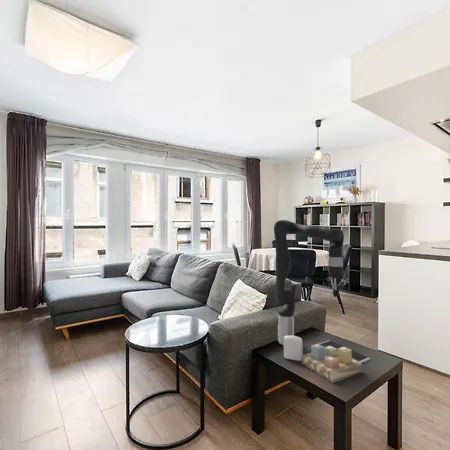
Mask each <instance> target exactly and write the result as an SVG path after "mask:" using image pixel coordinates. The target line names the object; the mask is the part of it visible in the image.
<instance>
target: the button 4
mask: <svg viewBox="0 0 450 450" xmlns="http://www.w3.org/2000/svg"><path fill="white" fill-rule="evenodd" d="M350 349H351V348H348V347H346V346H344V347H341V348H337V350H338V360H339V361H340V362H342V363H344V364H348V363H351V362H352V350H353V349H351V350H350Z"/></svg>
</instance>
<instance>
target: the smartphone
mask: <svg viewBox="0 0 450 450" xmlns="http://www.w3.org/2000/svg"><path fill="white" fill-rule="evenodd" d="M318 344H319V345H321V346H323V347H327V346H332V347H334V348H336V349H337V348H341V347H345V346H344V345H342V344H339V343H337V342H335V341H332V340H326V341H324V342H320V343H318ZM349 349H350V350H352V358H353V359H355V360H357V361H359V362H361V363H362V364H363V363H367V362H369V361H371V358H370V357H369V356H366V355H365V354H362V353H360V352H357V351H355V350H353V349H351V348H349ZM337 351H338V350H337Z"/></svg>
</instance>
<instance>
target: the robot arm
mask: <svg viewBox="0 0 450 450" xmlns="http://www.w3.org/2000/svg"><path fill="white" fill-rule="evenodd" d="M273 231H274V232H273V233H274V241H275V242H274V243H275V275H276V276H275V278H276V279H275V290H274V291H275V292H274V293H275V295H274V297H275V301H276V303H277V304H278V305H281V306H282V305H283V306H282V307H280V308H279V309H278V311H277V313H278V325H277V341H278V343H279V344H280V345H282V346H284V337H285V336H288V335H292V336H295V319H294V318H295V317H294V316H295V315H294V313H295V310H296V308H295V307H296V294H295V291H294V289H293V288H291V287H285V284H286V279H287V278H288V276H289V274H290V272H291V269H292V256H291V252H290V250H289V247H288V245H287V244H288V243H287V235H299V236H304V237H306V238H311V239H317V240H323V241H328V242H330V246H329V247H328V261H327V265H328V266H327V267H328V270H327V271H328V277H326V278H325V281H326V282H327V284H328V286H329V288H330V289H332V295H333V298H338V297H339V296H340V290H343V289H344V287H345V286H346V285H347V281H346V280H345V279H344V277H343V274H344V259H343V246H344V239H345V236H344V234H345V233H344V232H343V230H342V229H341V228H338V227H337V228H336V227H335V228H331V227H330V228H329V227H324V226H319V225H308V224H301V223H296V222H293V221H289V220H287V219H283V220H282V219H281V220H279V219H278V220H276V222H275V223H274V225H273Z"/></svg>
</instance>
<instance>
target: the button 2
mask: <svg viewBox="0 0 450 450" xmlns="http://www.w3.org/2000/svg"><path fill="white" fill-rule="evenodd" d="M324 354H326V355H328V356H330V357H331V356H335V355H337V349H336V348H334V347H332V346H327V347H324Z"/></svg>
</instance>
